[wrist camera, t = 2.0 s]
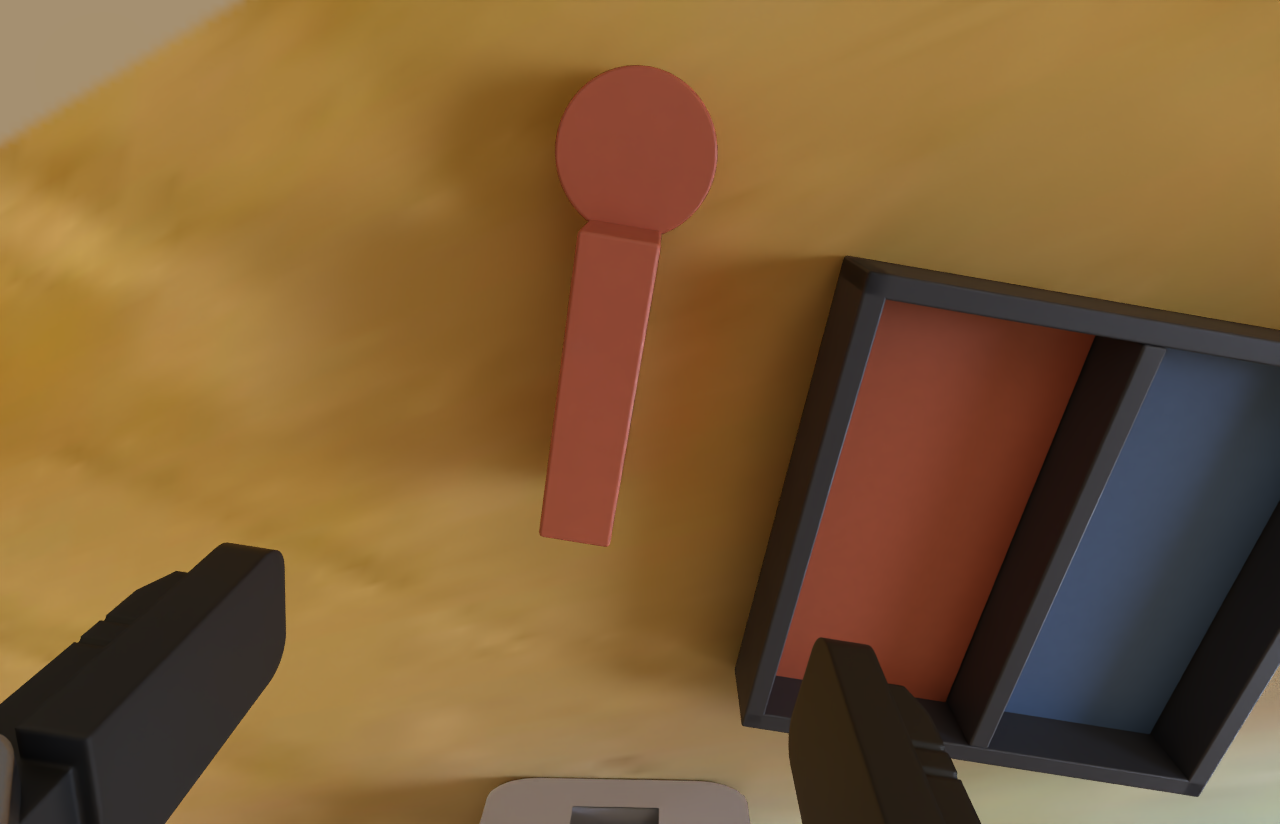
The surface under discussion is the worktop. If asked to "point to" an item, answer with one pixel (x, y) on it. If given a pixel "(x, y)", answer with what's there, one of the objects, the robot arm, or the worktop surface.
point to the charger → (614, 802)
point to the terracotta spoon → (616, 273)
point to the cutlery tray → (1032, 524)
